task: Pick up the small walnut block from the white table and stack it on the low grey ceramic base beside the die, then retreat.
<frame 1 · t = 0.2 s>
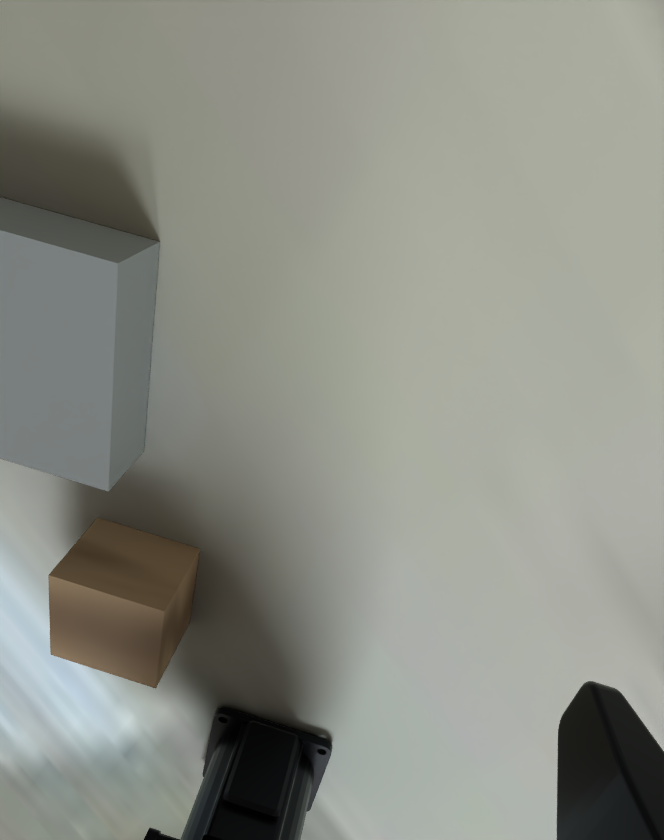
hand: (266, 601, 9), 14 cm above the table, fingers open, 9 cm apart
block: (146, 570, 30), on the table
base: (42, 324, 24), on the table
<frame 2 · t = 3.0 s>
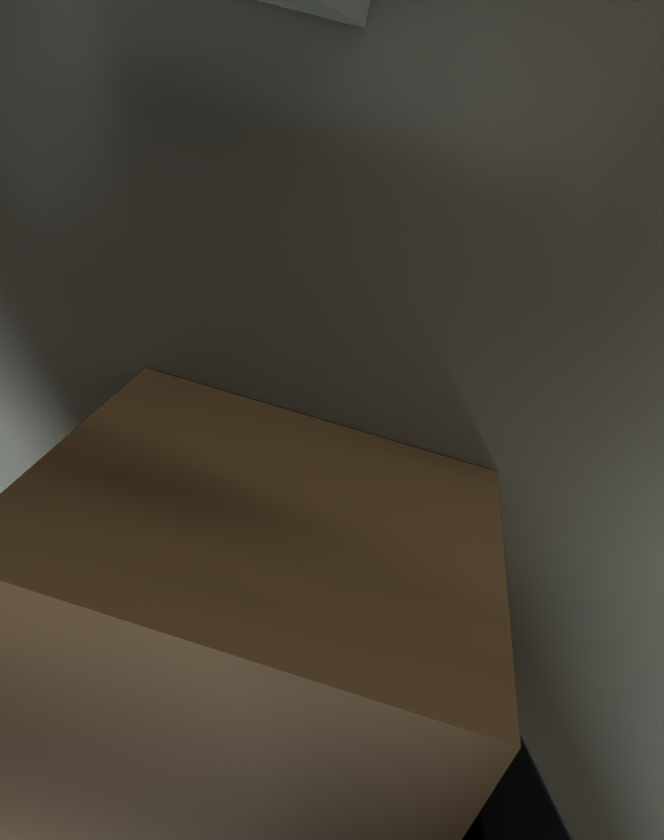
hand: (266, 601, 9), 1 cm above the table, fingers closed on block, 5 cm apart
block: (285, 553, 10), on the table, touching gripper
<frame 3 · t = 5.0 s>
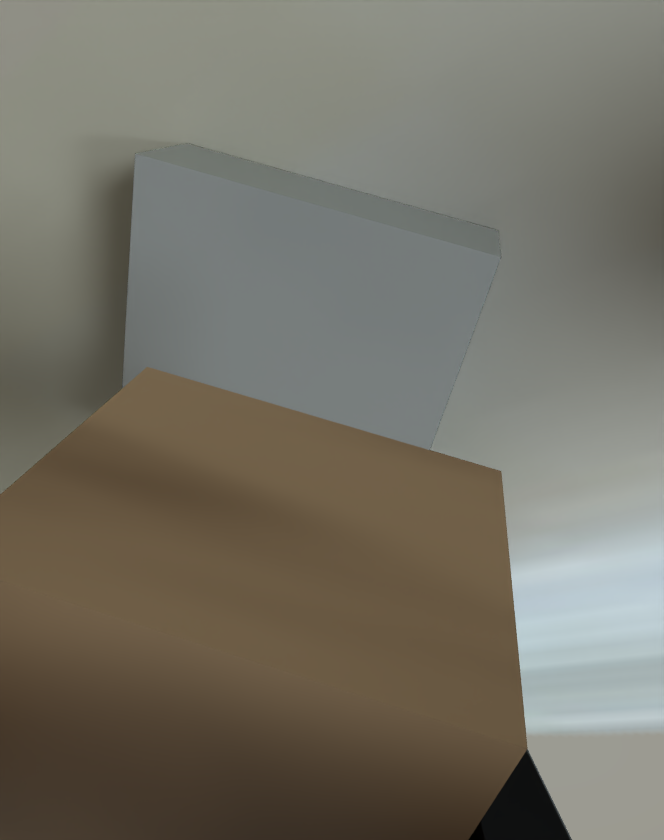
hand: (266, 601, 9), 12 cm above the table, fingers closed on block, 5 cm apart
block: (287, 553, 10), point 11 cm above the table, touching gripper
base: (307, 333, 19), on the table
when the fingers open (5 cm above the table, at t = 7.1 s): block stays where it is, resting on base.
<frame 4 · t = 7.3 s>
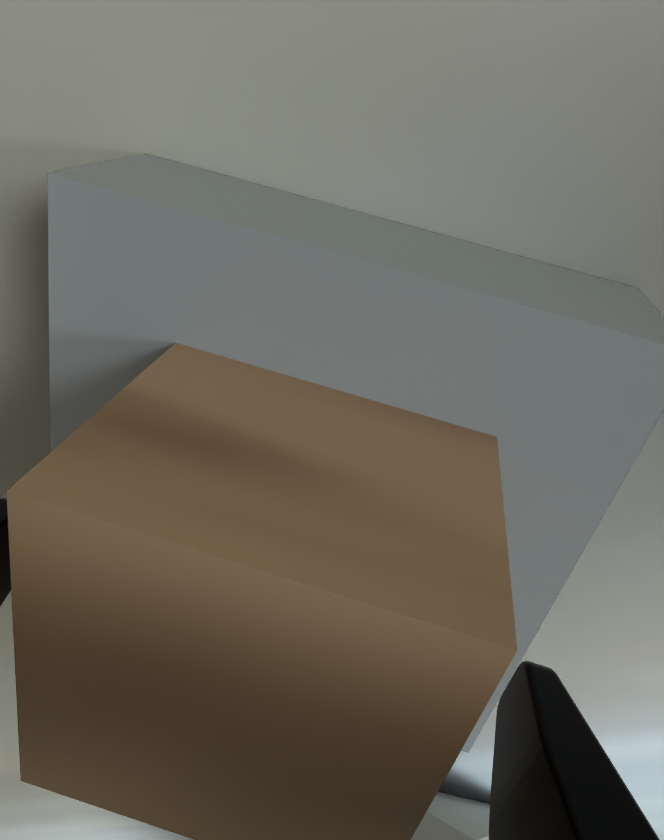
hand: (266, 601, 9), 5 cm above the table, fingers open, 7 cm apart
block: (301, 516, 10), point 3 cm above the table, touching base
die: (439, 816, 19), on the table
base: (330, 432, 13), on the table
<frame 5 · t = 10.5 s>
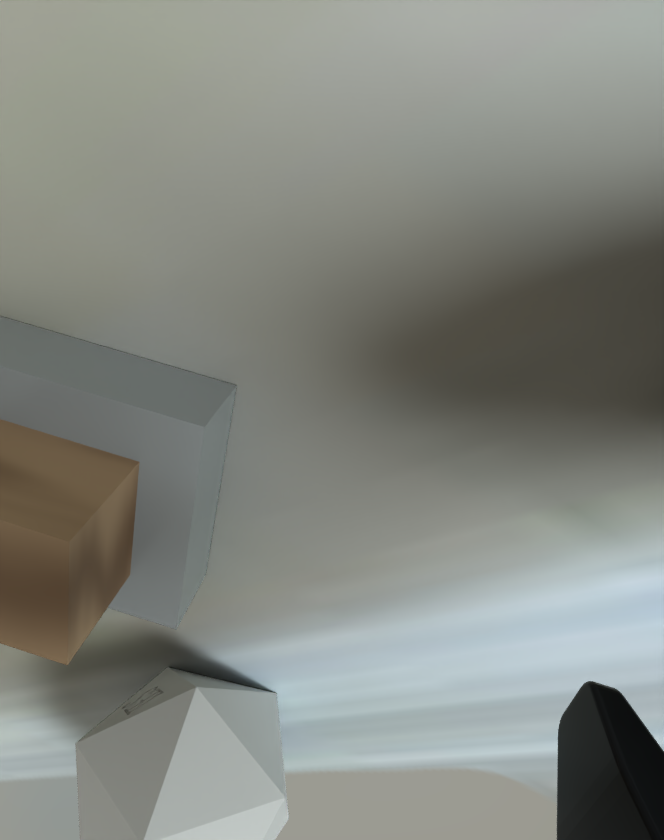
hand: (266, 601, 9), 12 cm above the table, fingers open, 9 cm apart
block: (65, 500, 21), point 3 cm above the table, touching base
die: (222, 697, 29), on the table
base: (107, 455, 24), on the table
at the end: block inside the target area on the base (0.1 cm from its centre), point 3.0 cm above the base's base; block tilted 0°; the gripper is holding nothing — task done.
